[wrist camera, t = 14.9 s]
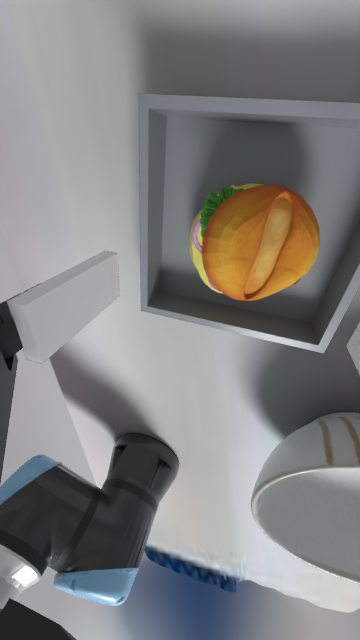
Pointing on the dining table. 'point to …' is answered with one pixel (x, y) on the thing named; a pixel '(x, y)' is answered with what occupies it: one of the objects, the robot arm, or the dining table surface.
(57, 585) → the robot arm
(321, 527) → the decorative bowl
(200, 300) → the bin
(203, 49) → the dining table surface
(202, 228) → the cheeseburger
